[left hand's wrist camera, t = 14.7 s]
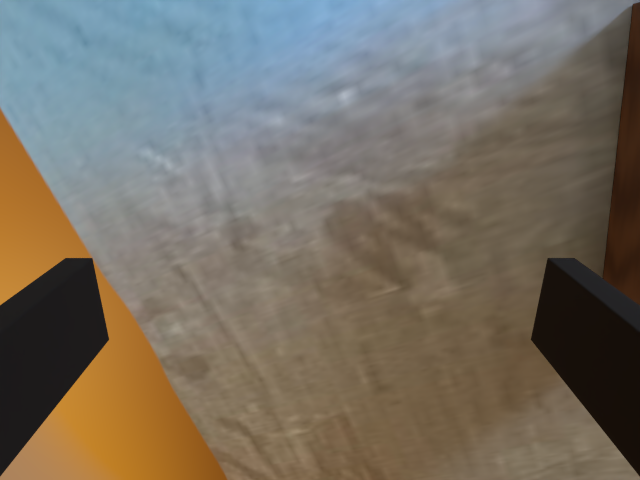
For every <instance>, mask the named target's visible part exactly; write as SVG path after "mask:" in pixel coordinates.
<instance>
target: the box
mask: <svg viewBox="0 0 640 480" xmlns="http://www.w3.org/2000/svg"><path fill="white" fill-rule="evenodd" d="M603 279H604V280H605V281H607V282H608V283H609V284H611V285H612V286H614V287H615V288H616V289H618V290H619V291H620V292H622V293H623V294H625V295H626V296H627V297H629V298H630V299H632V300H633V301H634V302H636V303H637V304H638V305H640V2H639V3H635V4H633V10H632V19H631V28H630V38H629V47H628V56H627V65H626V74H625V83H624V92H623V101H622V111H621V120H620V129H619V138H618V147H617V156H616V165H615V174H614V183H613V193H612V202H611V211H610V220H609V229H608V238H607V247H606V256H605V266H604V275H603Z"/></svg>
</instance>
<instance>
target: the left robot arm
mask: <svg viewBox="0 0 640 480" xmlns="http://www.w3.org/2000/svg"><path fill="white" fill-rule="evenodd" d="M108 340H109V337H108V332H107V328H106V323H105V318H104V313H103V308H102V303H101V299H100V294H99V289H98V284H97V279H96V274H95V269H94V264H93V260H92V258H65V259H64V260H62V261H61V262H60V263H58V264H57V265H56V266H54V267H53V268H51V269H50V270H49V271H47V272H46V273H44V274H43V275H42V276H40V277H39V278H38V279H36V280H35V281H33V282H32V283H31V284H29V285H28V286H27V287H25V288H24V289H22V290H21V291H20V292H18V293H17V294H15V295H14V296H13V297H11V298H10V299H8V300H7V301H6V302H4V303H3V304H2V305H0V476H1V475H2V473H3V472H4V471H5V470H6V468H7V467H8V466H9V465H10V463H11V462H12V461H13V460H14V458H15V457H16V456H17V455H18V453H19V452H20V451H21V450H22V448H23V447H24V446H25V444H26V443H27V442H28V441H29V440H30V438H31V437H32V436H33V434H34V433H35V432H36V431H37V429H38V428H39V427H40V426H41V424H42V423H43V422H44V421H45V419H46V418H47V417H48V416H49V414H50V413H51V412H52V411H53V409H54V408H55V407H56V405H57V404H58V403H59V402H60V401H61V399H62V398H63V397H64V395H65V394H66V393H67V392H68V390H69V389H70V388H71V387H72V385H73V384H74V383H75V382H76V380H77V379H78V378H79V377H80V375H81V374H82V373H83V372H84V370H85V369H86V368H87V367H88V365H89V364H90V363H91V362H92V360H93V359H94V358H95V357H96V355H97V354H98V353H99V352H100V350H101V349H102V348H103V346H104V345H105V344H106V343H107V341H108ZM531 340H532V341H533V343H534V344H535V345H536V347H537V348H538V349H539V350H540V352H541V353H542V354H543V355H544V357H545V358H546V359H547V360H548V362H549V363H550V364H551V365H552V367H553V368H554V369H555V370H556V372H557V373H558V374H559V375H560V377H561V378H562V379H563V380H564V382H565V383H566V384H567V385H568V387H569V388H570V389H571V391H572V392H573V393H574V394H575V396H576V397H577V398H578V399H579V401H580V402H581V403H582V404H583V406H584V407H585V408H586V409H587V411H588V412H589V413H590V414H591V416H592V417H593V418H594V419H595V421H596V422H597V423H598V424H599V426H600V427H601V428H602V429H603V431H604V432H605V433H606V434H607V436H608V437H609V438H610V440H611V441H612V442H613V443H614V445H615V446H616V447H617V448H618V450H619V451H620V452H621V453H622V455H623V456H624V457H625V458H626V460H627V461H628V462H629V463H630V465H631V466H632V467H633V468H634V470H635V471H636V472H637V473H638V475H639V476H640V305H638V304H637V303H636V302H634V301H633V300H632V299H630V298H629V297H627V296H626V295H625V294H623V293H622V292H620V291H619V290H618V289H616V288H615V287H614V286H612V285H611V284H609V283H608V282H607V281H605V280H604V279H602V278H601V277H600V276H598V275H597V274H596V273H594V272H593V271H591V270H590V269H589V268H587V267H586V266H584V265H583V264H582V263H580V262H579V261H578V260H576V259H575V258H548V260H547V264H546V269H545V274H544V279H543V284H542V289H541V294H540V298H539V303H538V308H537V313H536V318H535V323H534V328H533V332H532V337H531Z"/></svg>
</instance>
